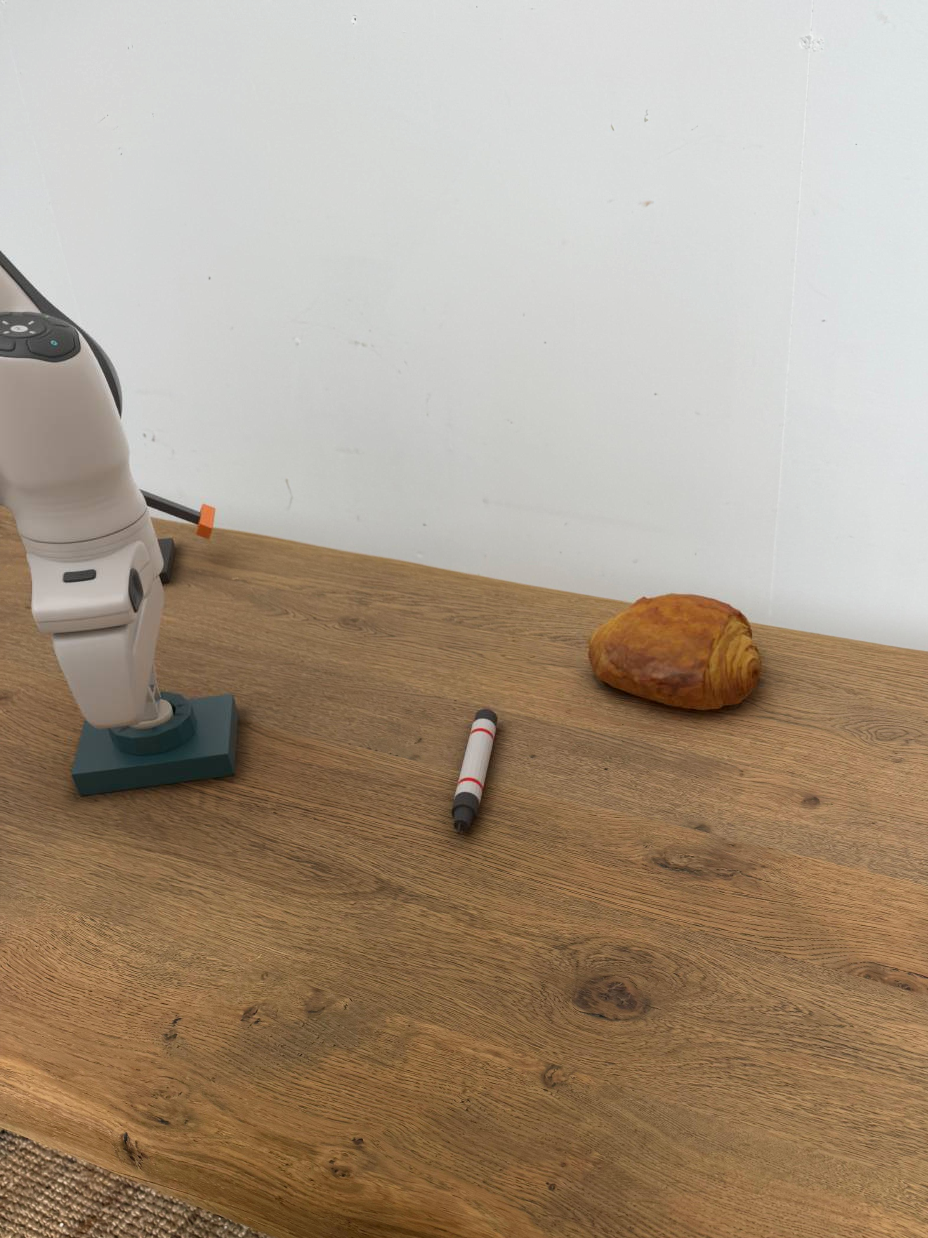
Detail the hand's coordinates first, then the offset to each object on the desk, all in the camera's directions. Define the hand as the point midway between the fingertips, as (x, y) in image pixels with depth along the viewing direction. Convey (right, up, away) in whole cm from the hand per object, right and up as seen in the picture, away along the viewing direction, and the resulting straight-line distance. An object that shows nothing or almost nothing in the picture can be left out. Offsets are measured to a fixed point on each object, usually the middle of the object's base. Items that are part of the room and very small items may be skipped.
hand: (149, 710), depth 95 cm
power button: (0, -1, +1) cm, 2 cm away
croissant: (+44, +4, +11) cm, 45 cm away
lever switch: (-11, +23, +24) cm, 35 cm away
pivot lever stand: (-14, +18, +28) cm, 36 cm away
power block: (0, -3, +3) cm, 4 cm away
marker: (+26, -6, -1) cm, 27 cm away
